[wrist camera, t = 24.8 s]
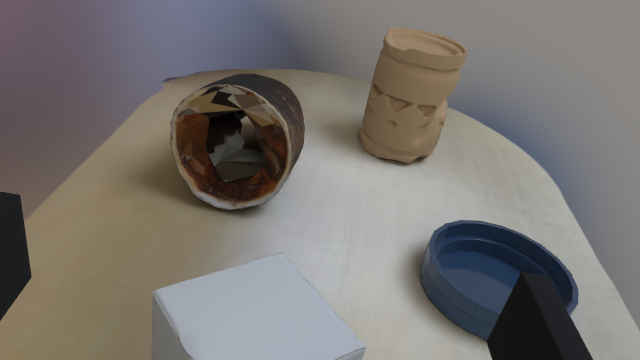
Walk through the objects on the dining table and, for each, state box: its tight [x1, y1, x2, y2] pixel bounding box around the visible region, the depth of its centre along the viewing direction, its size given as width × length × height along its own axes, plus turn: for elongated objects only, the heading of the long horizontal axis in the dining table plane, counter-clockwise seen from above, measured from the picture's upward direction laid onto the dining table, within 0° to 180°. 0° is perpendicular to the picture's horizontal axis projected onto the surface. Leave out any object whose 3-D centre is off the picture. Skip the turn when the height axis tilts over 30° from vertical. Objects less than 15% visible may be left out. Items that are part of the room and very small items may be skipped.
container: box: [360, 27, 467, 163], centre depth 82 cm, size 13×13×18 cm
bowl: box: [420, 220, 578, 340], centre depth 58 cm, size 16×16×4 cm
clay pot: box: [170, 74, 305, 210], centre depth 71 cm, size 15×15×25 cm
